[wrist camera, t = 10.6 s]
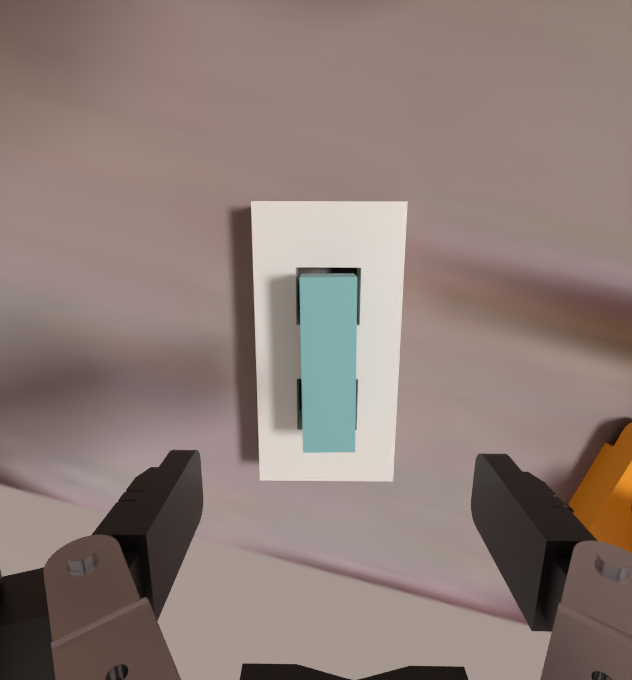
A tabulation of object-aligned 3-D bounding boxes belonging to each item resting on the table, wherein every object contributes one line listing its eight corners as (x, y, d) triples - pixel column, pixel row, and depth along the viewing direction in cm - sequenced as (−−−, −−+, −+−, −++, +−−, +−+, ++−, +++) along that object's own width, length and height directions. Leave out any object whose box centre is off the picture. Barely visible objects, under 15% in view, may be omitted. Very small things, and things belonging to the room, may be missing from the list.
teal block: (303, 269, 28) (299, 277, 21) (348, 268, 28) (357, 276, 21) (306, 408, 30) (302, 452, 24) (347, 408, 30) (355, 452, 24)
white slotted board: (258, 205, 27) (251, 201, 24) (397, 205, 27) (407, 201, 24) (265, 457, 31) (259, 480, 28) (385, 458, 31) (392, 481, 28)
